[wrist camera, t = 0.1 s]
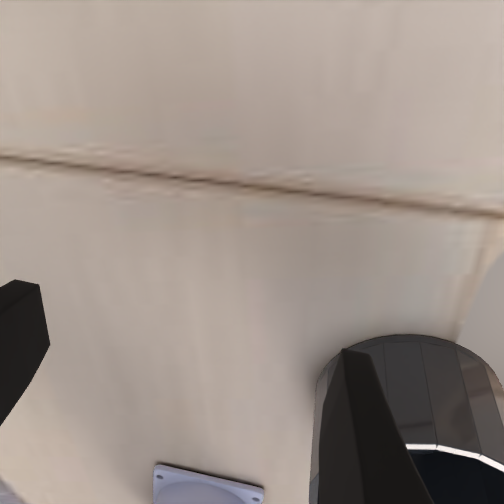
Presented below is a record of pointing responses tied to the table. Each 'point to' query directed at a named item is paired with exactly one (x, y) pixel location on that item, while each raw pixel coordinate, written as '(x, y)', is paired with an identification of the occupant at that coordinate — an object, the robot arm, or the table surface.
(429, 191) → the table surface
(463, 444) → the desk cup
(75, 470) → the table surface
